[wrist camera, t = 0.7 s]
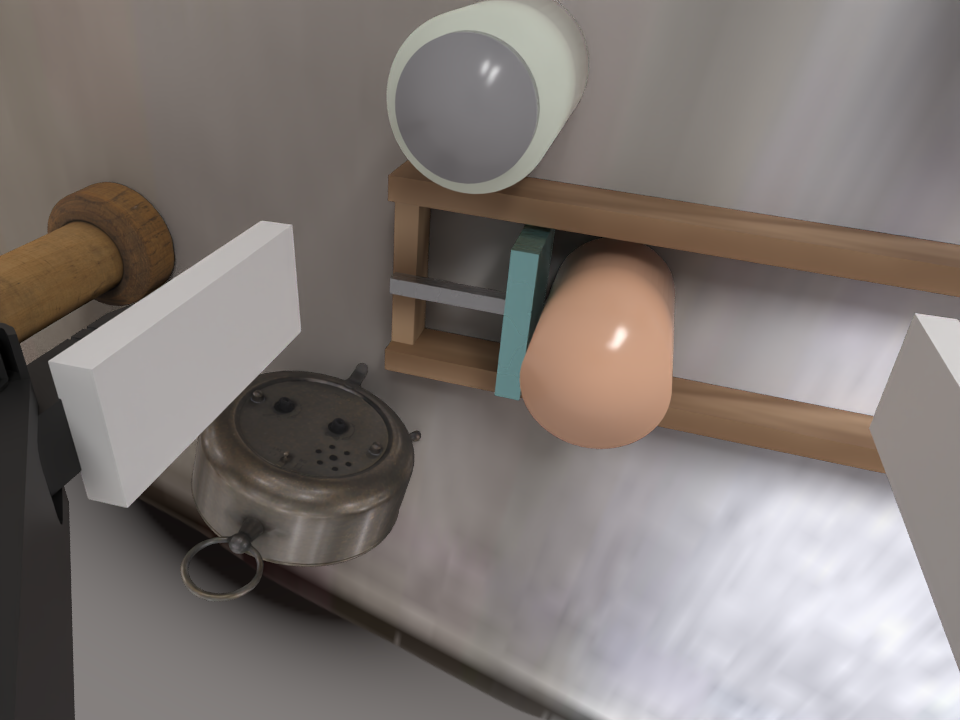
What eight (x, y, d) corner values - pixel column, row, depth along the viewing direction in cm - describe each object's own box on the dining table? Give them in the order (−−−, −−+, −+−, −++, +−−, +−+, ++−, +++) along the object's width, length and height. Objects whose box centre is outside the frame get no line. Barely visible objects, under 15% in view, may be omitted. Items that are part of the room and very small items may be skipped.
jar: (460, -16, 31) (379, 1, 23) (599, 0, 30) (566, 24, 22) (451, 126, 34) (377, 186, 26) (577, 145, 33) (541, 213, 25)
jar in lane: (562, 227, 36) (528, 306, 28) (687, 248, 35) (687, 335, 27) (546, 334, 39) (512, 431, 31) (661, 357, 38) (654, 462, 30)
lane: (409, 158, 36) (388, 175, 33) (1062, 261, 31) (1094, 290, 28) (403, 342, 41) (384, 369, 38) (957, 454, 36) (978, 492, 34)
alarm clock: (265, 390, 45) (83, 586, 32) (278, 319, 42) (83, 500, 29) (428, 458, 45) (314, 686, 31) (452, 391, 42) (338, 610, 28)
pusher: (413, 192, 36) (376, 226, 32) (557, 216, 35) (539, 254, 31) (407, 324, 40) (374, 370, 36) (537, 349, 39) (519, 400, 34)
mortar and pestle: (60, 177, 41) (-304, 317, 26) (161, 184, 40) (-162, 336, 25) (92, 285, 45) (-214, 465, 29) (187, 295, 43) (-84, 489, 28)
